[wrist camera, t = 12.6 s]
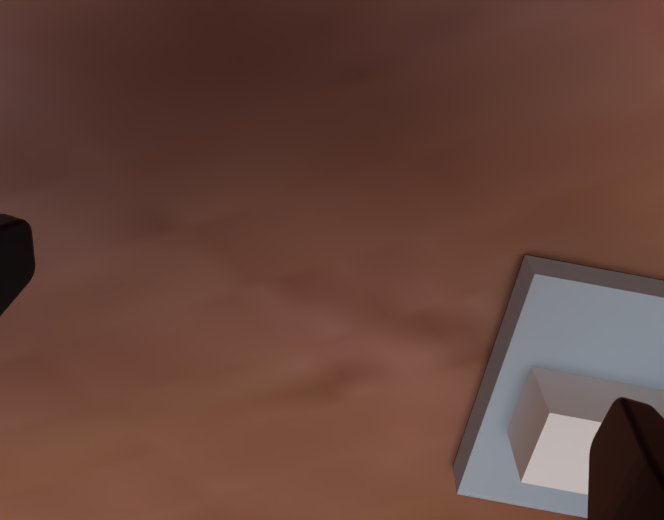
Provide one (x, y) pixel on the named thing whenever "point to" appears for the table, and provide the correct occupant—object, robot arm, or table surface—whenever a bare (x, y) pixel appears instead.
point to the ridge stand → (560, 382)
